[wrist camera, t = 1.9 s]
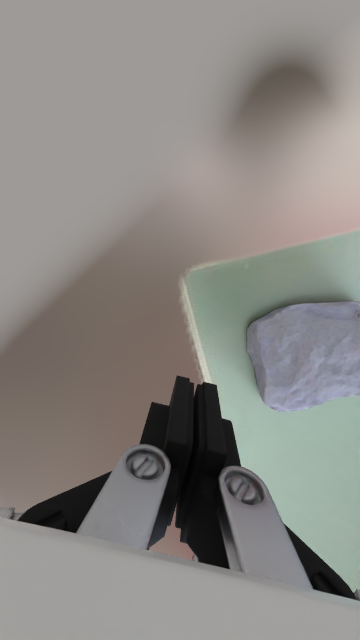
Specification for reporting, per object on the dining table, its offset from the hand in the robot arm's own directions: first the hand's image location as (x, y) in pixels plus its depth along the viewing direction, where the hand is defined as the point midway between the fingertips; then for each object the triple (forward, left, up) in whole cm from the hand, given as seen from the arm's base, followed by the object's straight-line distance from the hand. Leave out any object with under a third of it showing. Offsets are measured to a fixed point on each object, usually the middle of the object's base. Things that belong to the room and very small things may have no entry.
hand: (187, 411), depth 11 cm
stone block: (0, +12, -17) cm, 21 cm away
